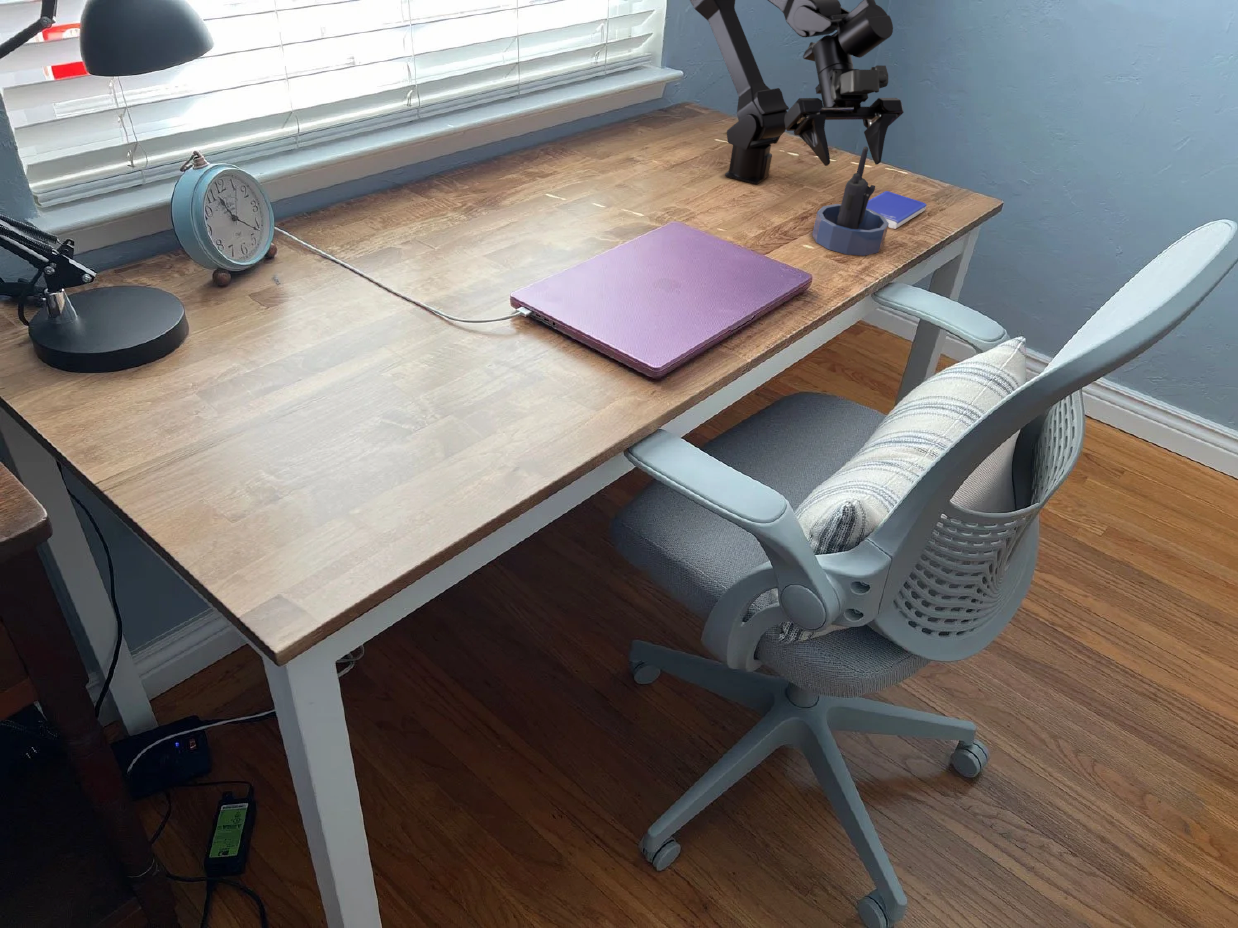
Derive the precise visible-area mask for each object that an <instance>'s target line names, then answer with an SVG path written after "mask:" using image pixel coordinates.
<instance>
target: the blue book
mask: <svg viewBox="0 0 1238 928" xmlns="http://www.w3.org/2000/svg"><path fill="white" fill-rule="evenodd" d="M927 207H928V205H927V203H925V202H923V201H920V200H917V199H914V198H911V197H907V196H905V195H901V194H898V193H895V192H892V191H888V190H885V191H883V192H881V193H880V194H878V195H876V196H874V197H872V198H871V199H870V198H869V200H868V203H867V207H866V208H867V209H871V210H873V211H875V212H876V213H878V214H880V215H882V216H884V217H885V219H886V220H887V222H888V223H889V226H888V229H894V230H895V229H896V230H897V229H898V228H899V227H901V226H903V225H904V224H906V223H907V222H909V221H910V220H912V219H914V218H915V217H917V216H918V215H920V214H921V213H923V212H925V211H926V209H927Z"/></svg>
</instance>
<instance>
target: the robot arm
mask: <svg viewBox="0 0 1238 928" xmlns="http://www.w3.org/2000/svg"><path fill="white" fill-rule="evenodd" d="M767 1H768V2H769V3H770V4H772V5H773V6H775V8H777V9H779V10H780V11H781V12H782V14H783V17H784V20H785V22H786V24H788V25H789V27H790V28H791V29H792V30H793V31H794V32H795V34H797V35H798V36H799V37H802V38H812V37H820V36H822V37H821V38H820V39H819V40H817V41H816V42H813V41H811V42H810V43H809V45H808V47H807V49H805V51H804V53H803V56H802V58H803V60H806V61H810V62H814V63H815V67H816V69H815V70H816V75H817V80H818V84H817V85H816V87H815V88H814V89H815V92H816V93H815V94H816V95H820V96H821V98H819V97H799V98H798V99H797V100H796V101H795V103H794V104H792V106H791V107H789V105H787V104H786V101H785V99H784V96H783V92H782V90H781V88H779V87H776V88H770V87H769V86H767V85H766V83H765V81H764V78H763V76H762V74H761V71H760V69H759V66H758V64H757V62H756V61H757V60H756V59H755V56H754V54H753V51H752V49H751V46H750V44H749V41H748V39H747V37H746V33H745V32H744V28H743V26H742V24H741V22H740V19H739V16H738V14H737V12H736V0H689V2H690V4H691V6H692V7H693V9H694V10H695V11H696V12H697V13H699V15H701V16H702V17H703V18H704V19H705V20H706V21H707V22H708V24H709V26H710V29H711V31H712V33H713V36H714V39H715V41H716V43H717V47H718V49H719V51H720V54H721V56H722V58H723V60H724V63H725V67H726V69H727V71H728V74H729V76H730V78H731V82H732V83H733V85H734V89H735V90H736V93H737V96H738V100H737V108H736V115H737V120H738V121H737V122H735V123H734V124H733V125H732V126H731V127H729V128H728V129H727V130H726V140H727V143H728V144H730V145H732V147H731V149H732V150H731V155H730V161H729V168H728V171H726V172H725V173H724V177H725V178H729V179H733V180H737V181H741V182H745V183H748V184H753V185H759V184H760V183H761V182H762V181H765V179H766V178H768V177H769V175H770V170H771V169H770V168H771V164H772V158H773V154H772V153H771V148H772V145H776V144H778V142H779V140H780V138H781V137H782V135H783V134H784V133H785V132H786V131H787V132H793V135H794V136H799V138H801V139H802V140H803V142H804V143H805V144H807V146H808V147H809V148H810V149H811V150H812V152H813V153H814V154H815V155H816V157H818V158H817V159H819V161H820V162H821V163H822V164H823V166H825V167H828V166H829V165H830V164H831V156H830V150H829V145H828V140H827V135H826V129H825V127H826V121H841V120H842V121H843V120H844V121H847V120H848V121H849V120H853V121H854V120H855V121H856V120H862V123H863V127H864V128H866V129H865V130H864V131H863V134H864V137H865V139H866V144H867V147H868V150H869V153H870V156H871V158H872V160H873V162H874V165H876V166H877V165H879V164H880V163H881V162H882V158H883V152H884V145H885V141H886V134H887V131H888V128H889V126H891V125H892V124H893V123H894V122H895V121H896V120H897V119H899V118H900V117H901V116H902V115H903V114H904V113H905V112H904V107H903V106H904V105H903V103H902V100H901V99H900V98H898V97H877V99H876V100H875V101H874V102H873V103H872V104H870V105H869V106H862V105H861V104H862V103H865V102H866V101H868V99H869V94H872V93H875V94H876V93H879V92H880V89H883V88H886V87H887V86H888V85H889V73H888V69H887V65H880V64H879V65H875V66H872V67H870V69H859V68H854V62H853V58H852V56H853V57H855V58H863V57H864V56H866V55H867V54H869V53H870V52H871V51H873V50H874V49H876V48H877V47H879V45H882V43H884V42H885V41H886V40H888V39H889V38H891V37H892V35H893V32H894V25H893V20H892V18H891V16H890V15H888V13H887V12H886V11H885V10H884V9H883V7H882V6H880V5H878V4H877V2H876V0H861V1H860V2H859V3H858V5H857V6H856V7H855V8H853V9H852V10H851V11H849V10H847V9H845V8H844V7H842V4H841V2H840V1H839V0H767Z"/></svg>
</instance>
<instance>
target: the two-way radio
mask: <svg viewBox="0 0 1238 928" xmlns="http://www.w3.org/2000/svg"><path fill="white" fill-rule="evenodd" d="M868 151H869V146H864V147H863V148H862V152H861V155H860V159H859V163H858V166H857V169H856V172H854V173H853V174H852V177H851V178H850V179H849V180H847V182H846V183H845V185H844V191H843V195H842V200H841V203H840V204H841V206H840V210H839V215H838V217H837V223H836V225H839V226H842V227H846V228H850V229H858V227H859V224H861V223H862V221H863V218H864V214H865V210H866V207H867V203H868V200H870V198H871V196H872V195H873V194H874V192H875V190H876V185H875V184H874V185H873V184H871V185H870V186H869V182H868V181H867V180H866V179H865V178H864V177H863V175H864V171H865V166H866V161H867V157H868Z"/></svg>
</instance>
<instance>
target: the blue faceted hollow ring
mask: <svg viewBox="0 0 1238 928" xmlns="http://www.w3.org/2000/svg"><path fill="white" fill-rule="evenodd" d="M840 206H841V203H833V204H828V205H822V206H821V207H820V209H818V211H816V216H815V221H814V225H813V228H812V229H813V230H812V233H811V235H812V237H813V239H814V241H815V243H816V244H818V245H819V246H821V247H823V248H825V249H826V250H829V251H832V252H835V253H840V254H843V255H848V256H861V257H862V256H863V257H865V256H870V255H874V254H878V253H879V252H881V250H882V248H883V247H884V244H885V240H886V236H887V232H888V229H889V227H888V226H889V223H888V222H887V220H886V219H885V217H884V216H882V215H880V214H878V213H876V212H875V211H873V210H871V209H867V208H866V210H865V214H864V218H863V221H862V223H861V224H859V227H858V229H850V228H846V227H842V226H839V225H836V223H837V217H838V215H839V210H840Z"/></svg>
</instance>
